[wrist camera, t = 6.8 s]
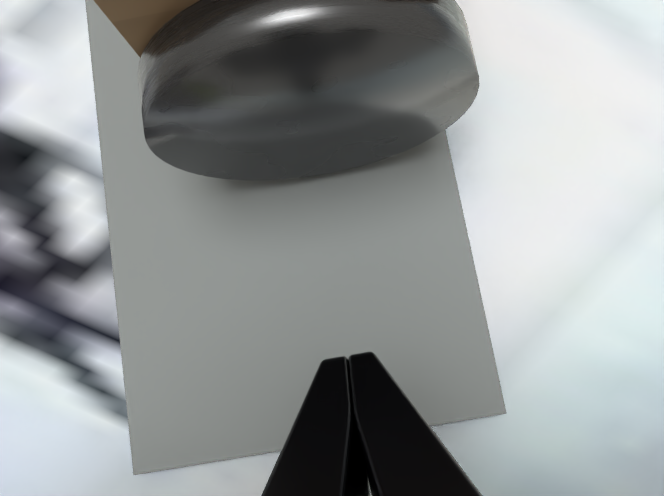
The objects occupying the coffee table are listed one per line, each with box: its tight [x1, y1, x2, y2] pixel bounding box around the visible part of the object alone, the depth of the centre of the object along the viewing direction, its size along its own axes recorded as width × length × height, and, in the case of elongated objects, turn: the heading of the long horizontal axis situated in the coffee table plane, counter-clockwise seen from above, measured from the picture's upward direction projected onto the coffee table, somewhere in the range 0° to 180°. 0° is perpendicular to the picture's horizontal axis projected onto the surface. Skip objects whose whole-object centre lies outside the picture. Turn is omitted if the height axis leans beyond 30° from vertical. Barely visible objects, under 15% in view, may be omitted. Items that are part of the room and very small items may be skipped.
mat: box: [85, 0, 506, 475], centre depth 17 cm, size 20×10×1 cm, turn 10°
